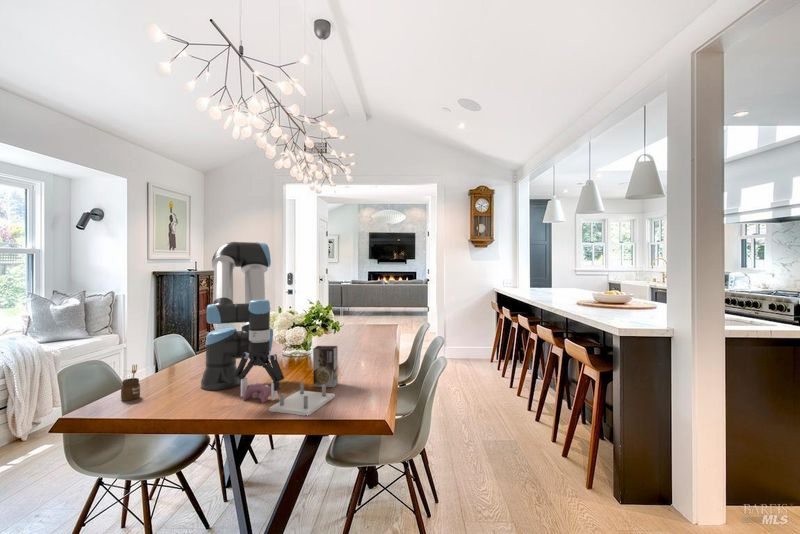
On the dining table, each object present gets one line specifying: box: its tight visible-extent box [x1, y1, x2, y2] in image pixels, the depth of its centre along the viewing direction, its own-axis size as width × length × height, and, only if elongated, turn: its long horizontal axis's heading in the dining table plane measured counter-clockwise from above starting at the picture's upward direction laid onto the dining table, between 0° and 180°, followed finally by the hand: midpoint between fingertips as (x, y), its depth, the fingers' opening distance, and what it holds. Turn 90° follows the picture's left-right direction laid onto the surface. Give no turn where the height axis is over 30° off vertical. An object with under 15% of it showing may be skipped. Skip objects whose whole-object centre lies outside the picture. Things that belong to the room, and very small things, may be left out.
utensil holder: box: [120, 364, 141, 402], centre depth 147 cm, size 6×6×12 cm
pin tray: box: [268, 382, 335, 417], centre depth 142 cm, size 15×20×5 cm
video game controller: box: [242, 382, 271, 404], centre depth 147 cm, size 10×5×7 cm, turn 72°
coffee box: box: [312, 345, 339, 388], centre depth 165 cm, size 9×6×16 cm
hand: (258, 397), depth 147 cm, fingers open, 13 cm apart
